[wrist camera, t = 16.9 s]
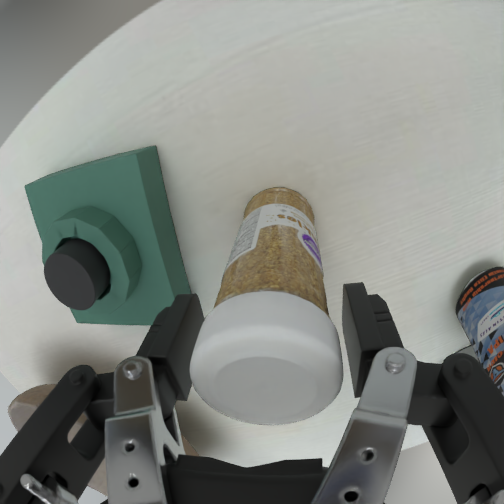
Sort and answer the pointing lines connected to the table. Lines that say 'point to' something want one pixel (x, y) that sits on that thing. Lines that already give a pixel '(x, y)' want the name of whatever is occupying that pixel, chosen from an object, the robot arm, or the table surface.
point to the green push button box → (115, 232)
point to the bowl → (30, 402)
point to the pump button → (77, 274)
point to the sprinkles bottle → (270, 321)
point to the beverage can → (485, 320)
